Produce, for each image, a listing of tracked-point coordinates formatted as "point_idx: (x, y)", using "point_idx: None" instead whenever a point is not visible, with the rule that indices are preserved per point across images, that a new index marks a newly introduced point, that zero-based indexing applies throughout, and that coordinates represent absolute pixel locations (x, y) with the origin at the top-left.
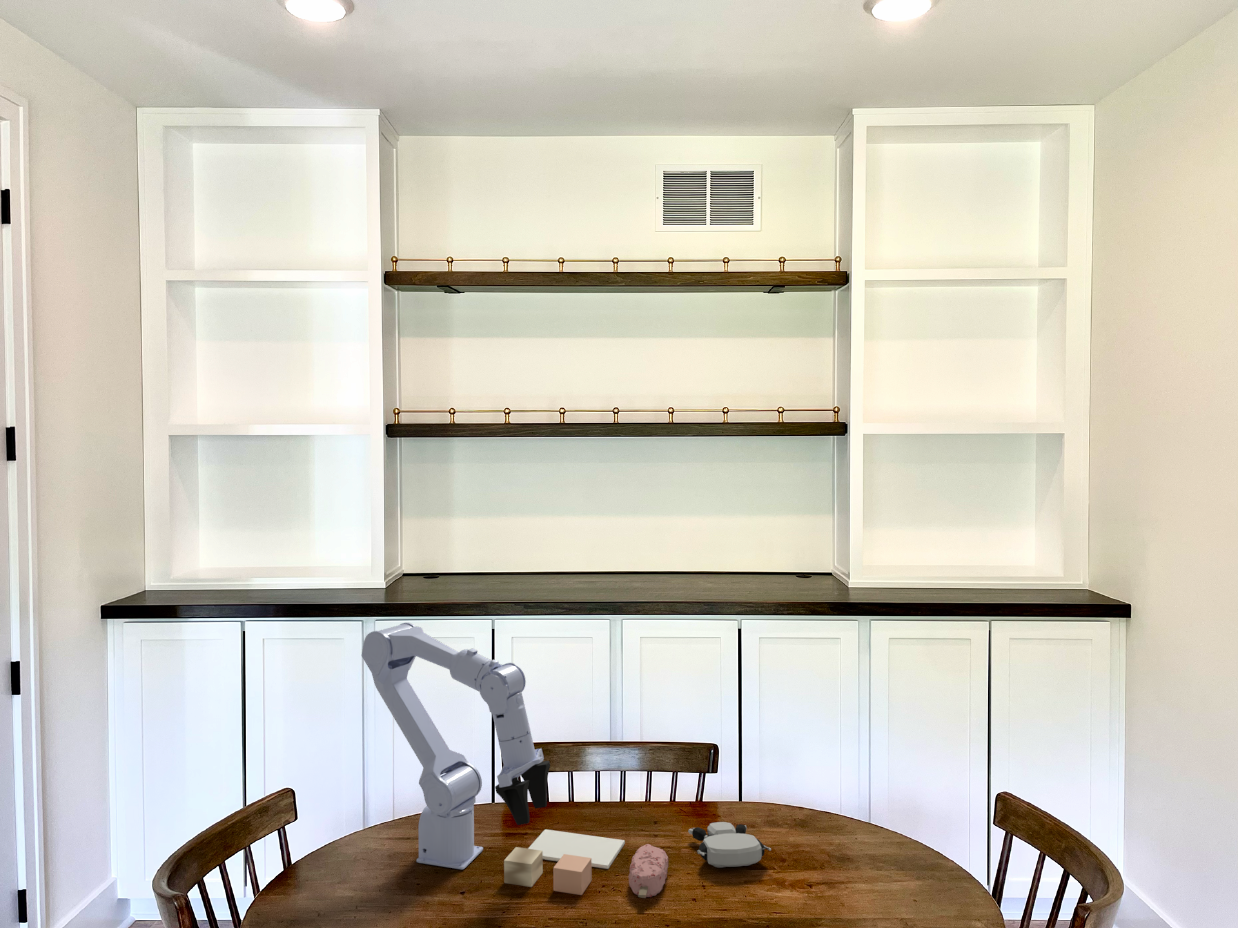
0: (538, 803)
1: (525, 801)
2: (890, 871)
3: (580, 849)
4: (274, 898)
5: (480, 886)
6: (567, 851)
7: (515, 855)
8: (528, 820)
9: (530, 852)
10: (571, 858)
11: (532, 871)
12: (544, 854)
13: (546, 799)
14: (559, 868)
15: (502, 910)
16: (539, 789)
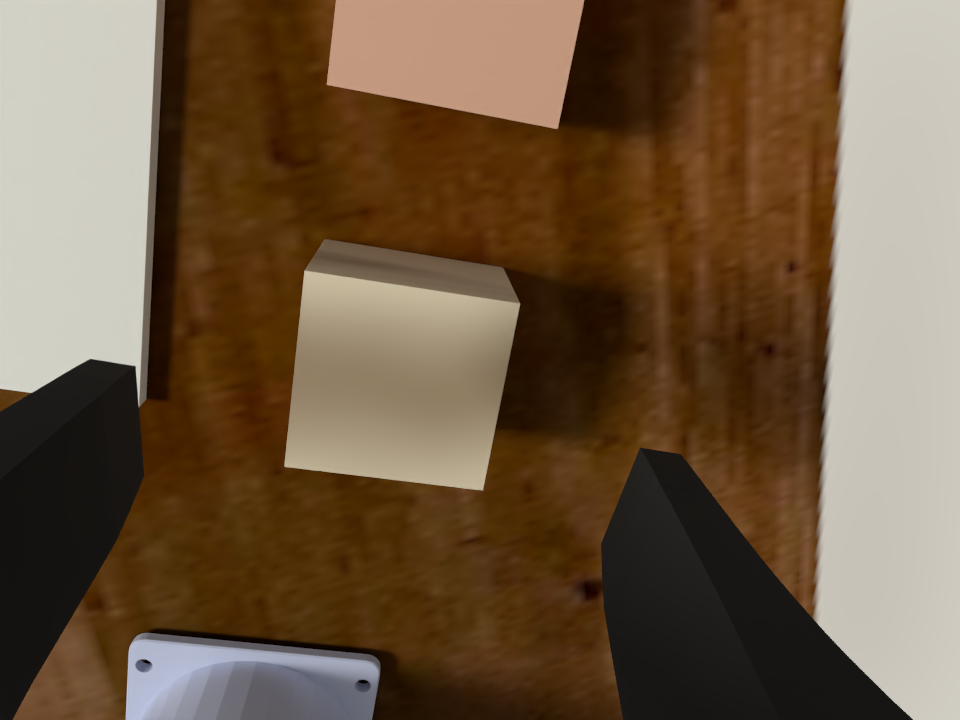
0: (119, 468)
1: (835, 657)
2: None
3: None
4: None
5: (526, 529)
6: (32, 120)
7: (405, 438)
8: (678, 463)
9: (347, 350)
10: (392, 4)
11: (495, 285)
12: (123, 274)
13: (63, 390)
14: (563, 77)
15: (755, 361)
16: (4, 564)
